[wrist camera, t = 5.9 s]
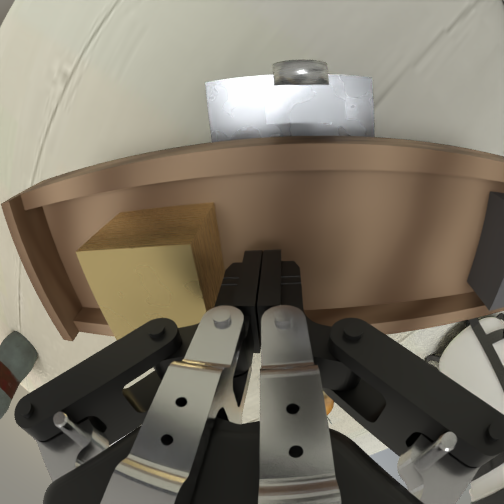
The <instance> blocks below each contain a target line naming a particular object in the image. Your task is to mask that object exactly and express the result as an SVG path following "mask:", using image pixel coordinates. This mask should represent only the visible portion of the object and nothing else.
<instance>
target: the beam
mask: <svg viewBox="0 0 504 504" xmlns="http://www.w3.org/2000/svg"><path fill="white" fill-rule="evenodd" d="M490 191H491V192H500V193H504V157H503V156H499V155H495V154H491V153H486V152H482V151H477V150H472V149H467V148H462V147H456V146H450V145H444V144H437V143H430V142H422V141H413V140H404V139H393V138H379V137H361V136H284V137H265V138H251V139H240V140H230V141H220V142H212V143H204V144H197V145H190V146H183V147H177V148H171V149H165V150H159V151H154V152H149V153H144V154H139V155H134V156H130V157H125V158H121V159H116V160H112V161H108V162H104V163H100V164H97V165H93V166H89V167H85V168H82V169H78V170H75V171H72V172H68V173H65V174H62V175H59V176H56V177H53V178H50V179H47V180H44V181H41V182H39V183H37V184H36V185H34V186H32V187H30V188H28V189H26V190H24V191H23V192H21V193H19V194H17V195H15V196H14V197H12V198H10V199H9V200H7V201H5V202H4V203H2V204H1V206H2V209H3V212H4V216H5V219H6V222H7V225H8V228H9V230H10V233H11V236H12V239H13V241H14V244H15V246H16V249H17V251H18V254H19V256H20V259H21V261H22V263H23V266H24V268H25V270H26V272H27V274H28V277H29V279H30V281H31V283H32V285H33V287H34V289H35V291H36V293H37V295H38V297H39V299H40V300H41V302H42V304H43V306H44V308H45V310H46V311H47V313H48V315H49V317H50V318H51V320H52V322H53V323H54V325H55V327H56V328H57V330H58V331H59V333H60V335H61V336H62V338H63V339H64V340H69V341H73V340H74V339H75V337H76V336H77V334H78V333H79V332H86V333H93V334H100V335H107V336H114V334H113V332H112V330H111V329H110V327H109V325H108V323H107V321H106V319H105V317H104V315H103V313H102V311H101V309H100V307H99V305H98V303H97V301H96V299H95V297H94V294H93V292H92V290H91V288H90V286H89V283H88V281H87V279H86V277H85V274H84V272H83V269H82V267H81V265H80V262H79V260H78V257H77V254H76V251H77V250H78V249H79V248H80V247H81V246H82V245H83V244H84V243H86V242H87V241H88V240H89V239H90V238H91V237H92V236H93V235H94V234H95V233H97V232H98V231H99V230H100V229H101V228H102V227H103V226H105V225H106V224H107V223H108V222H109V221H110V220H112V219H113V218H114V217H115V216H116V215H118V214H119V213H121V212H128V211H136V210H144V209H152V208H161V207H170V206H179V205H189V204H200V203H211V202H214V205H215V211H216V218H217V224H218V231H219V237H220V243H221V249H222V255H223V261H224V267H225V271H226V269H227V268H228V267H229V266H230V265H231V264H232V263H237V262H242V261H243V257H244V252H245V251H248V250H263V251H264V250H276V249H281V258H282V261H295V262H296V264H297V265H298V266H299V267H300V275H301V286H302V297H303V309H304V312H305V314H306V316H307V317H308V318H309V319H310V320H312V321H313V322H315V323H318V324H321V325H326V326H331V327H332V326H333V324H334V323H336V322H337V321H339V320H341V319H344V318H358V319H361V320H364V321H366V322H367V323H369V324H370V325H372V326H373V327H375V328H376V329H378V330H379V331H381V332H382V333H384V334H385V335H386V334H393V333H400V332H406V331H413V330H419V329H424V328H430V327H435V326H440V325H446V324H450V323H455V322H460V321H464V320H469V319H473V318H477V317H481V316H485V315H489V314H493V313H496V312H500V311H504V307H503V308H499V309H495V310H491V311H489V310H488V309H487V307H486V306H485V304H484V303H483V302H482V300H481V299H480V298H479V296H478V295H477V294H476V293H475V291H474V290H473V289H472V287H471V286H470V285H469V284H468V282H467V279H468V276H469V273H470V270H471V267H472V264H473V261H474V257H475V254H476V251H477V247H478V244H479V240H480V236H481V232H482V228H483V224H484V219H485V215H486V210H487V205H488V199H489V193H490Z"/></svg>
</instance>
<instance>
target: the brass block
mask: <svg viewBox="0 0 504 504" xmlns="http://www.w3.org/2000/svg"><path fill="white" fill-rule="evenodd" d="M76 254H77V257H78V260H79V262H80V265H81V267H82V269H83V272H84V274H85V277H86V279H87V281H88V283H89V286H90V288H91V290H92V292H93V294H94V297H95V299H96V301H97V303H98V305H99V307H100V309H101V311H102V313H103V315H104V317H105V319H106V321H107V323H108V325H109V327H110V329H111V330H112V332H113V334H114V336H115V338H116V340H119V339H120V338H122V337H124V336H125V335H127V334H129V333H130V332H132V331H134V330H135V329H137V328H139V327H140V326H142V325H143V324H145V323H147V322H149V321H150V320H153V319H156V318H168V319H171V320H173V321H174V322H175V323H176V325H177V327H178V328H181V327H186V326H191V325H195V324H198V323H200V321H201V319H202V317H203V315H204V314H205V313H206V312H207V311H208V310H210V309H212V308H214V306H215V303H216V300H217V296H218V293H219V290H220V287H221V284H222V280H223V277H224V274H225V267H224V261H223V255H222V249H221V243H220V237H219V231H218V224H217V218H216V211H215V205H214V202H211V203H200V204H189V205H179V206H170V207H161V208H152V209H144V210H136V211H128V212H121V213H119V214H118V215H116V216H115V217H114V218H113V219H112V220H110V221H109V222H108V223H107V224H106V225H105V226H103V227H102V228H101V229H100V230H99V231H98V232H97V233H95V234H94V235H93V236H92V237H91V238H90V239H89V240H88V241H87V242H86V243H84V244H83V245H82V246H81V247H80V248H79V249H78V250H77V251H76Z"/></svg>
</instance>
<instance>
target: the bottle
mask: <svg viewBox="0 0 504 504" xmlns="http://www.w3.org/2000/svg"><path fill="white" fill-rule="evenodd" d="M36 359H37V352H36V350H35V348H34V347H33V346H32V344H31V343H30V342H29V341H28V340H27V339H26V338H25V337H24V336H23V335H22V334H20V333H19V332H17V331H14V332H12V333H11V334H9V335H8V336H7V337H6V338H5V339H4V340H3V342H2V343H1V345H0V419H1V418H2V417H3V415H4V414H5V413H6V411H7V410H8V408H9V405H10V403H11V400H12V398H13V396H14V394H15V392H16V390H17V388H18V386H19V384H20V383H21V381H22V380H23V379H24V378H25V377H26V376H27V375H28V373H29V372H30V371H31V370H32V368H33V366H34V364H35V361H36Z"/></svg>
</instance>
